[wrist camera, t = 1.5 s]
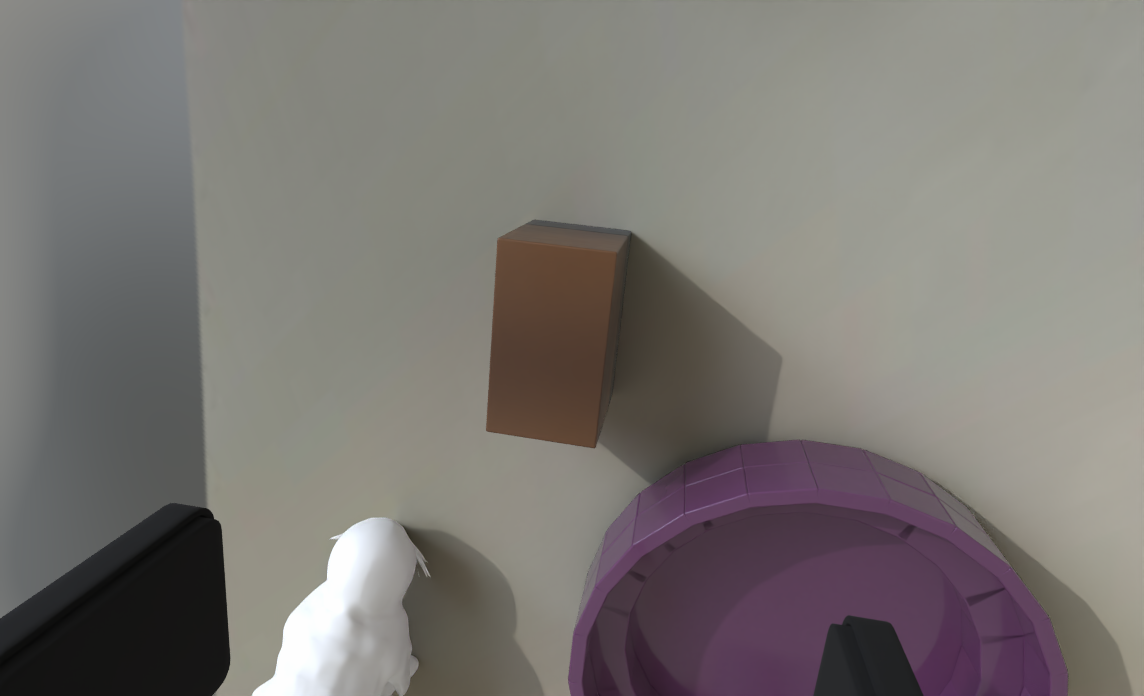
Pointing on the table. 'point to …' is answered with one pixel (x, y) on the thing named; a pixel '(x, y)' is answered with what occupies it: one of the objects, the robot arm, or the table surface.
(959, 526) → the bowl
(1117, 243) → the table surface
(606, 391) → the brown rectangular block
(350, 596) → the white lumpy piece
